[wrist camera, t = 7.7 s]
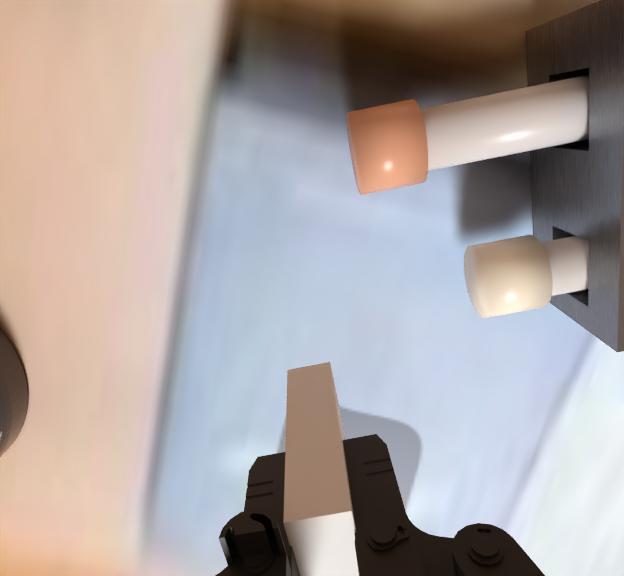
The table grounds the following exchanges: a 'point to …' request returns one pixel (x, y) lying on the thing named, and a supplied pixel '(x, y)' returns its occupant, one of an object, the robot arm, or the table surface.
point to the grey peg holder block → (585, 161)
